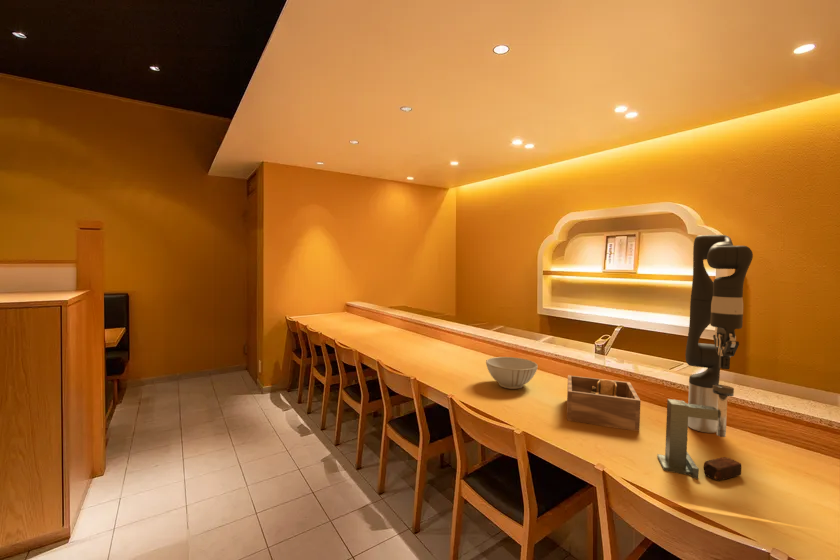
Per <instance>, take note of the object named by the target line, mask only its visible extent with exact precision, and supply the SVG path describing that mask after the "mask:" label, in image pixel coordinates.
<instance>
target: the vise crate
mask: <svg viewBox="0 0 840 560" xmlns="http://www.w3.org/2000/svg"><path fill="white" fill-rule="evenodd" d="M603 379H604V378H598V377H597V378H596V377H587V376H580V375H571V374H568V375H567V390H566V391H567V393H566V421H569V422H575V423H576V422H577V423H583V424H588V425H595V426H601V427H608V428H615V429H622V430H627V431H628V430H629V431H635V432H640V430H641V429H640V424H641V423H640V422H641V399H640V397H639V395H638V394H637V392H636V390H635V388H634V387H633V385H632V383H631V382H630V381H622V380H612V379H611V380H612V381H614V382H616V384H617V397H616V396H608V395H601V394H593V393H591V391H592V386H594V387H596V388H597V382H598V381H599V380H603ZM595 392H597V391H595Z"/></svg>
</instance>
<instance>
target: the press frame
mask: <svg viewBox="0 0 840 560" xmlns="http://www.w3.org/2000/svg"><path fill="white" fill-rule="evenodd" d="M666 403H667V404H666V422H665V423H666V424H665V425H666V426H665V428H666V429H665V448H664V449H665V450H664V451H665V452H664V453H665V454H658V453H657V455H656V456H657V459H658V461H659V464H660V466H661V467H662V470H663V471H665V472H671V473H676V474H682V475H686V476H691V478H692V479H696V480H697V479H699V467H698V466H697V464H696V463H695V462H694V460H693V459H692V456H691V455H690V454H689V452H688V432H689V429H688V428H689V427H688V417H695V418H702V419H709V420H717V421H718V410H717V409H716V408H715V407H711V406H703V405H695V404H688V402H686V401H684V400H678V399H671V398H667V402H666Z"/></svg>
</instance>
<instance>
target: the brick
mask: <svg viewBox="0 0 840 560" xmlns="http://www.w3.org/2000/svg"><path fill="white" fill-rule="evenodd" d="M703 473H704V475H705V476H706V477H708V478H710V479H712V480H716V481H722V480H723V481H724V480H727V479H730V478H731V479H732V478H735V477H738V476H741V474H742V463H741V462H739V461H737V460H735V459H733V458H731V457H726V456H723V457H719V458H713V459H709V460H705V461H704V464H703Z"/></svg>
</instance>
